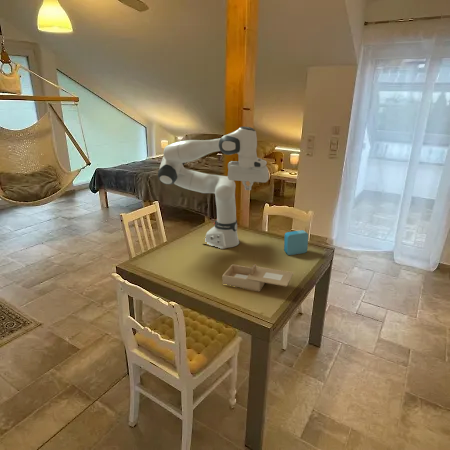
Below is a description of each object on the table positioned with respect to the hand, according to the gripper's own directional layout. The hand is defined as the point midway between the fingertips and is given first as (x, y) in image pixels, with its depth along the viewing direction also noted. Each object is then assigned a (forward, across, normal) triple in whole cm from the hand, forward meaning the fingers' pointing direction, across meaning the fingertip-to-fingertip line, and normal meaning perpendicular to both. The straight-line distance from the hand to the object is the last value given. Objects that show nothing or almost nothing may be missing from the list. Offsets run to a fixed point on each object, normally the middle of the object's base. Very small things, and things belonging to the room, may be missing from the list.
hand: (248, 189), depth 173 cm
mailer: (+39, +6, -22) cm, 45 cm away
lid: (+33, +18, -22) cm, 44 cm away
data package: (+39, +21, +18) cm, 48 cm away
